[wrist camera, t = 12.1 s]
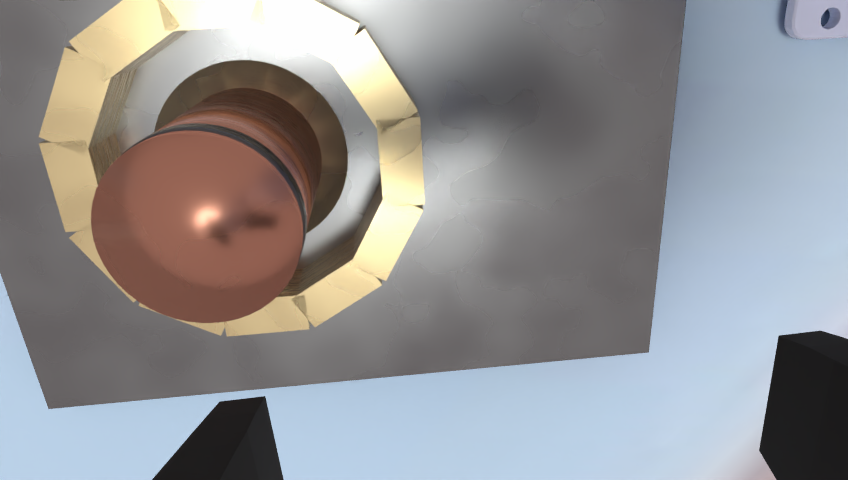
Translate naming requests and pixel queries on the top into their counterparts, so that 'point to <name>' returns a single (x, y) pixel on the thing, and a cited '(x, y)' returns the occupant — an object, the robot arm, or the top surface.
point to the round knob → (211, 207)
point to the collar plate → (351, 183)
